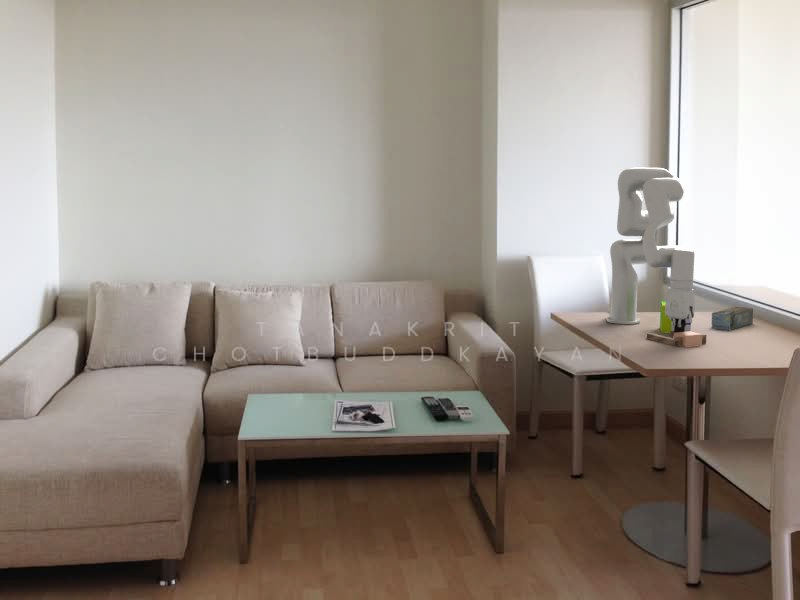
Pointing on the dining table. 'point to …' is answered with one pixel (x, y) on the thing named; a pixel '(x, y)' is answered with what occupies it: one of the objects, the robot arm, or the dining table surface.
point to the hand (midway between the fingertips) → (679, 337)
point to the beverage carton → (732, 318)
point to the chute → (675, 342)
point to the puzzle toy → (668, 321)
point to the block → (689, 338)
